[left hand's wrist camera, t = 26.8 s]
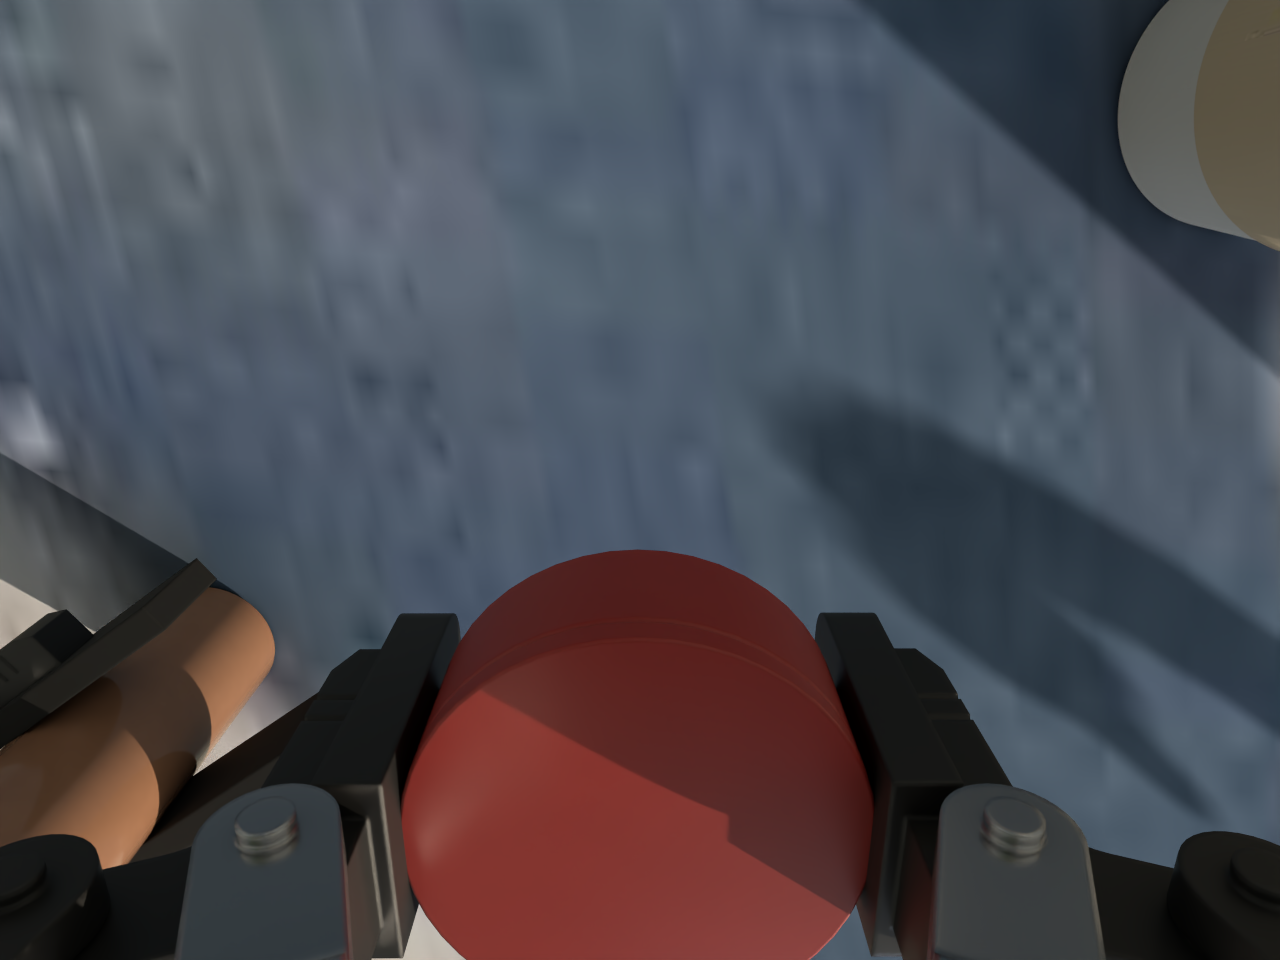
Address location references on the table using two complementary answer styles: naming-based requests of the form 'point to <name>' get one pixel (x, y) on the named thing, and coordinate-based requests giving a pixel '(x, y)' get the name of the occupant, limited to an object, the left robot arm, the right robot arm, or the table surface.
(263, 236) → the table surface
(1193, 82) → the coffee cup
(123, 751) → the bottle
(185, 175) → the table surface
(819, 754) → the lid
